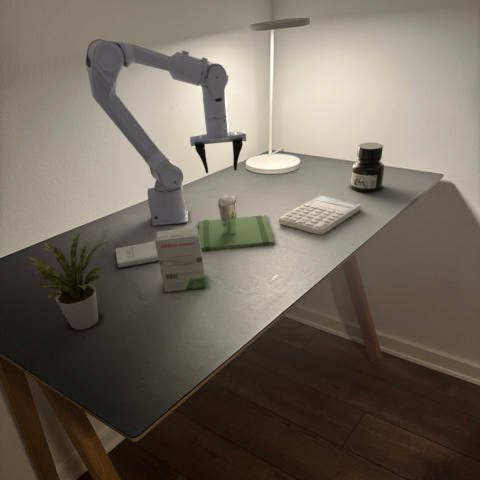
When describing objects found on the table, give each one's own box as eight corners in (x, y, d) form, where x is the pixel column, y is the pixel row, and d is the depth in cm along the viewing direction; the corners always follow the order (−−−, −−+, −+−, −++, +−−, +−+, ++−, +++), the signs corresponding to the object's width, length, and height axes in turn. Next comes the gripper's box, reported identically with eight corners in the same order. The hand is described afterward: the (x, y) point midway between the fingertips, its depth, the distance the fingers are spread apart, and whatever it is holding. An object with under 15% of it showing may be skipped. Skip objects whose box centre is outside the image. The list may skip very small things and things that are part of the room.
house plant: (116, 290, 93) (97, 216, 84) (137, 323, 83) (117, 243, 73) (46, 312, 88) (17, 236, 78) (58, 350, 78) (27, 268, 68)
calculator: (277, 224, 116) (277, 217, 114) (319, 199, 127) (320, 193, 126) (321, 236, 108) (321, 229, 107) (362, 209, 120) (362, 202, 119)
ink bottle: (343, 188, 134) (346, 146, 127) (361, 180, 138) (365, 139, 131) (371, 195, 128) (376, 152, 121) (388, 186, 132) (394, 144, 125)
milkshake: (233, 238, 108) (231, 198, 102) (216, 233, 111) (213, 194, 105) (245, 231, 111) (242, 192, 105) (228, 227, 114) (225, 188, 108)
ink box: (205, 276, 96) (199, 225, 89) (206, 289, 92) (199, 235, 85) (164, 281, 95) (155, 229, 88) (164, 293, 91) (154, 240, 84)
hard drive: (173, 259, 103) (118, 269, 101) (167, 244, 110) (116, 253, 107) (171, 252, 102) (117, 262, 100) (166, 238, 109) (115, 247, 106)
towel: (199, 251, 106) (198, 247, 105) (199, 223, 119) (198, 220, 118) (274, 244, 106) (274, 241, 106) (266, 218, 119) (266, 214, 119)
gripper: (187, 123, 109) (194, 177, 117) (245, 117, 110) (249, 172, 118) (187, 116, 115) (194, 169, 123) (243, 111, 116) (246, 164, 123)
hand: (221, 170), depth 121 cm, fingers open, 7 cm apart
